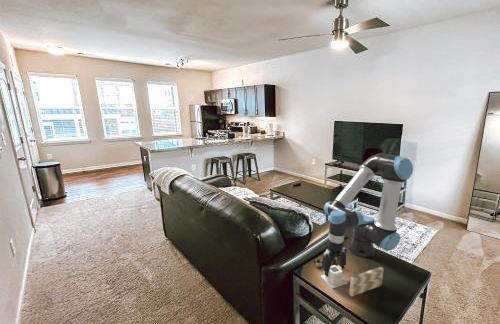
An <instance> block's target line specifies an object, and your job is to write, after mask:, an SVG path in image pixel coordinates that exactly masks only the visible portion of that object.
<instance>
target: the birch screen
mask: <svg viewBox="0 0 500 324" xmlns="http://www.w3.org/2000/svg"><path fill="white" fill-rule="evenodd" d="M384 269H385V268H384V267H382V266H378V267H375V268H373V269H369V270H366V271H363V272H361V273H357V274H355V275H352V276H350V280H349V281H350V282H349V296H350V297H355V296H357V295H359V294H363V293H365V292H367V291H370V290H373V289H375V288H379V287H381V286H382V285H383V280H384V279H383V278H384V277H383V276H384Z"/></svg>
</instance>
